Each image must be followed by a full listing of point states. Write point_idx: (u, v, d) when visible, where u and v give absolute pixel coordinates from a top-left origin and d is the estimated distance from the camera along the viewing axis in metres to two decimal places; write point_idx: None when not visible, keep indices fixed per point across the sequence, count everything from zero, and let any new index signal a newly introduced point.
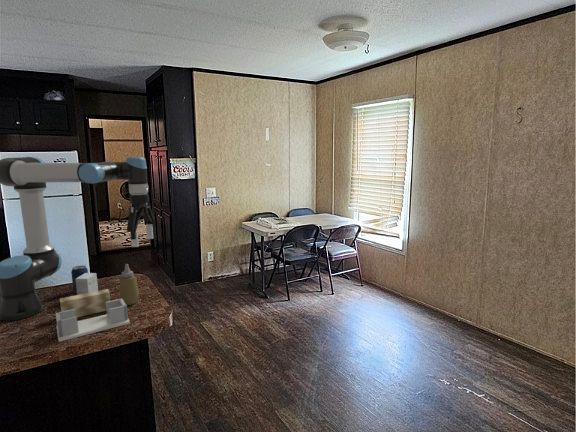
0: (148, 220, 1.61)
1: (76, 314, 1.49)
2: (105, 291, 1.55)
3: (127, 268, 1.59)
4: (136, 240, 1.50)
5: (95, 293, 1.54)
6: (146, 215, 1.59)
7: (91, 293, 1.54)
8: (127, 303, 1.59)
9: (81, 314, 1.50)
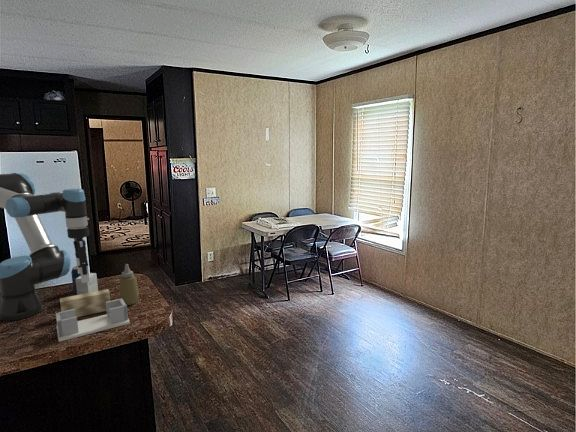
0: None
1: (76, 314, 1.49)
2: (104, 292, 1.55)
3: (127, 268, 1.59)
4: (87, 275, 1.45)
5: (95, 293, 1.54)
6: None
7: (91, 293, 1.54)
8: (127, 303, 1.59)
9: (81, 314, 1.50)
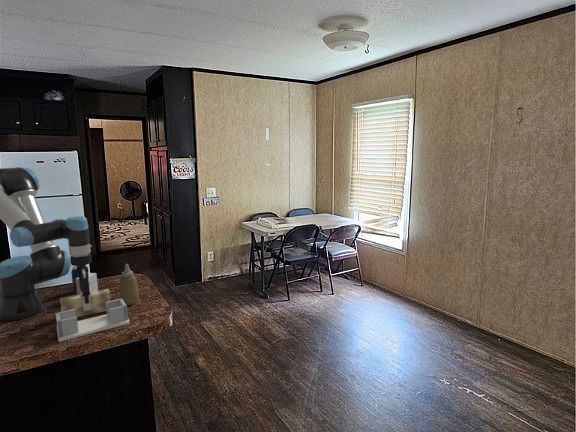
0: None
1: (76, 314, 1.49)
2: (105, 291, 1.55)
3: (127, 268, 1.59)
4: (89, 303, 1.50)
5: (95, 293, 1.53)
6: None
7: (91, 293, 1.54)
8: (127, 303, 1.59)
9: (81, 314, 1.50)
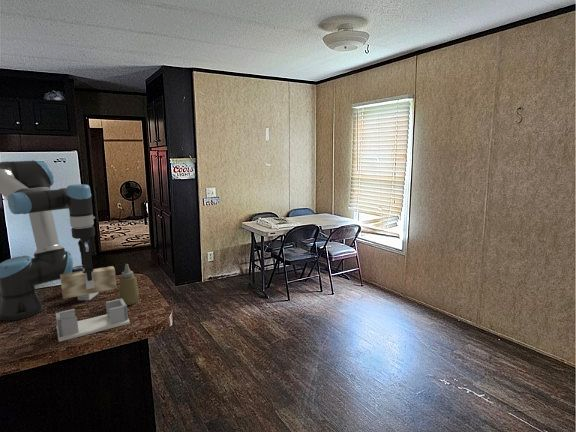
0: None
1: (78, 292, 1.35)
2: (109, 268, 1.41)
3: (127, 268, 1.59)
4: (92, 281, 1.36)
5: (99, 270, 1.39)
6: None
7: (95, 269, 1.40)
8: (127, 303, 1.59)
9: (83, 292, 1.36)
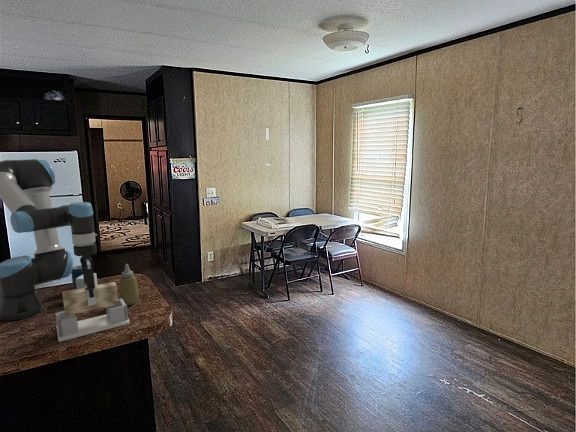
0: None
1: (80, 309, 1.36)
2: (111, 284, 1.42)
3: (127, 268, 1.59)
4: (94, 297, 1.37)
5: (101, 286, 1.40)
6: None
7: (97, 286, 1.41)
8: (127, 303, 1.59)
9: (85, 309, 1.37)
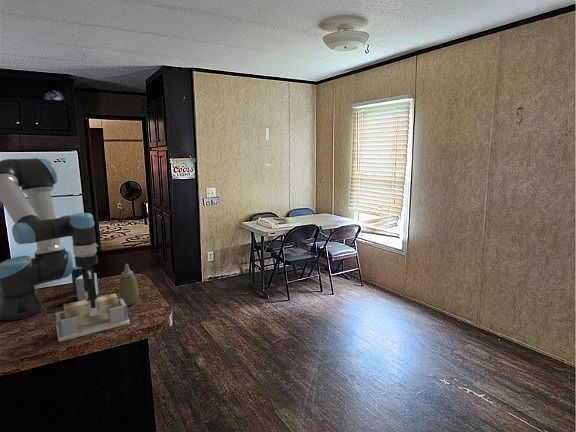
0: None
1: (81, 321, 1.37)
2: (112, 296, 1.43)
3: (127, 268, 1.59)
4: (96, 308, 1.37)
5: (102, 298, 1.42)
6: None
7: (98, 298, 1.42)
8: (127, 303, 1.59)
9: (87, 321, 1.38)
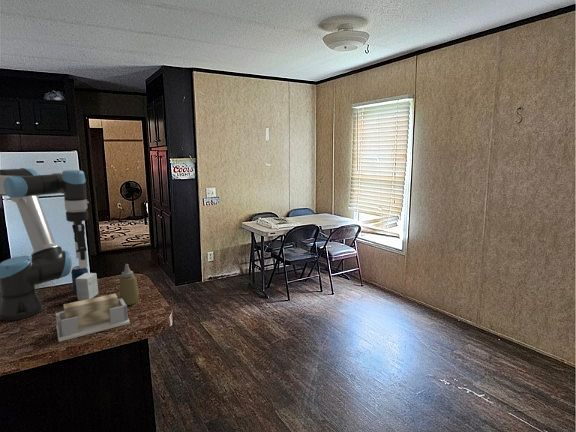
0: None
1: (81, 321, 1.37)
2: (112, 296, 1.43)
3: (127, 268, 1.59)
4: (85, 260, 1.39)
5: (102, 298, 1.42)
6: None
7: (98, 298, 1.42)
8: (127, 303, 1.59)
9: (87, 321, 1.38)
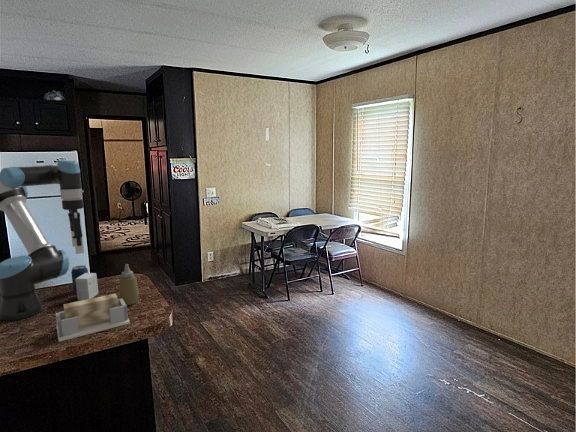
0: None
1: (81, 321, 1.37)
2: (112, 296, 1.43)
3: (127, 268, 1.59)
4: (82, 246, 1.46)
5: (102, 298, 1.42)
6: None
7: (98, 298, 1.42)
8: (127, 303, 1.59)
9: (87, 321, 1.38)
